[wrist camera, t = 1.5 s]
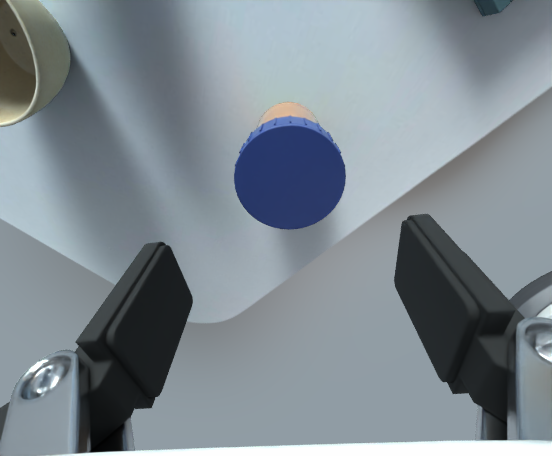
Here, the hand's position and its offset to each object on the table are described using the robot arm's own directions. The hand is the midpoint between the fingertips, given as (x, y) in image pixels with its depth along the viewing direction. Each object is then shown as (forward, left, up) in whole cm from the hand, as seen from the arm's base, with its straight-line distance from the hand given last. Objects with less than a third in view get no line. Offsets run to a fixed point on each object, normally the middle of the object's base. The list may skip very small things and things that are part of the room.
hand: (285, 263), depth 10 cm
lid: (0, 0, -8) cm, 8 cm away
